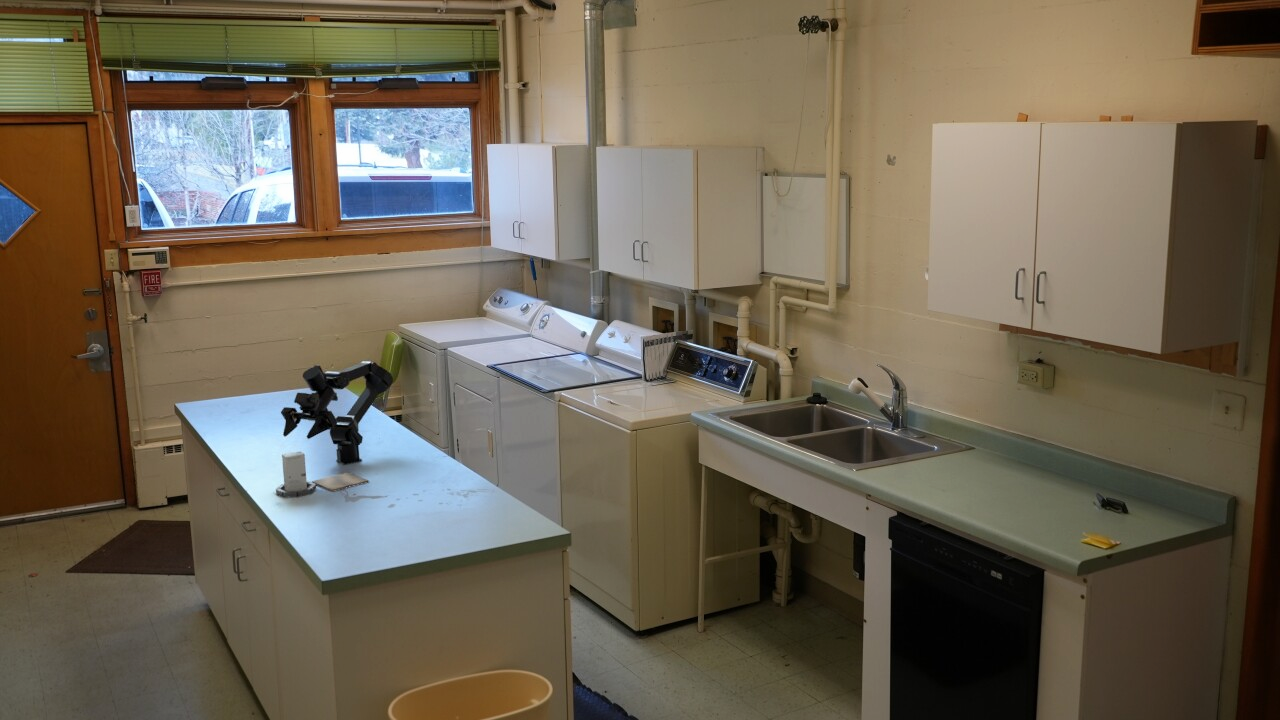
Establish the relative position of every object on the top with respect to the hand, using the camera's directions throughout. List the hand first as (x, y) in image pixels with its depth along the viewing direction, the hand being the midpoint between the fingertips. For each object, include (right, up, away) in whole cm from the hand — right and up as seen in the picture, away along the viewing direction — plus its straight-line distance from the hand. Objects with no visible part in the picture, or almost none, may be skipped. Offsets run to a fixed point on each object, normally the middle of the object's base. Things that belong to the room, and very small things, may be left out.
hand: (295, 436), depth 350 cm
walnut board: (+14, -15, +2) cm, 20 cm away
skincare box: (+2, -17, -6) cm, 18 cm away
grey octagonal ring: (+2, -17, -6) cm, 18 cm away
